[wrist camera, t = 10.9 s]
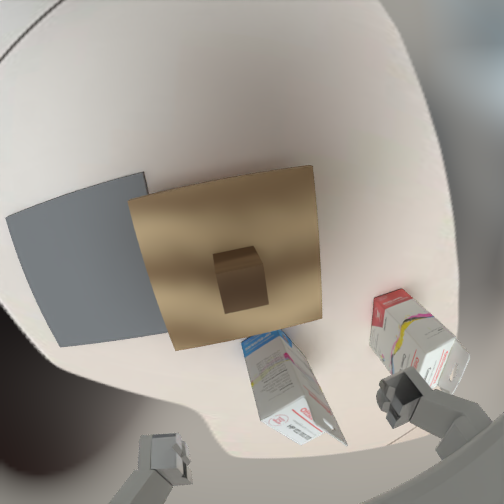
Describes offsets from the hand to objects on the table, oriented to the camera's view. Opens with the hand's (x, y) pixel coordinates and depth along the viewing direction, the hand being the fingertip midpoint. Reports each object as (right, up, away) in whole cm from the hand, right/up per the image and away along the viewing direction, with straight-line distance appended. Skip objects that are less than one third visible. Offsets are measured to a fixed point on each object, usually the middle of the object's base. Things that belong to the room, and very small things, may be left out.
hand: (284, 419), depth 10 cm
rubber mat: (-18, +4, +17) cm, 25 cm away
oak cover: (-3, +5, +14) cm, 15 cm away
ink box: (+2, -6, +25) cm, 26 cm away
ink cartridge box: (+17, -3, +27) cm, 32 cm away
